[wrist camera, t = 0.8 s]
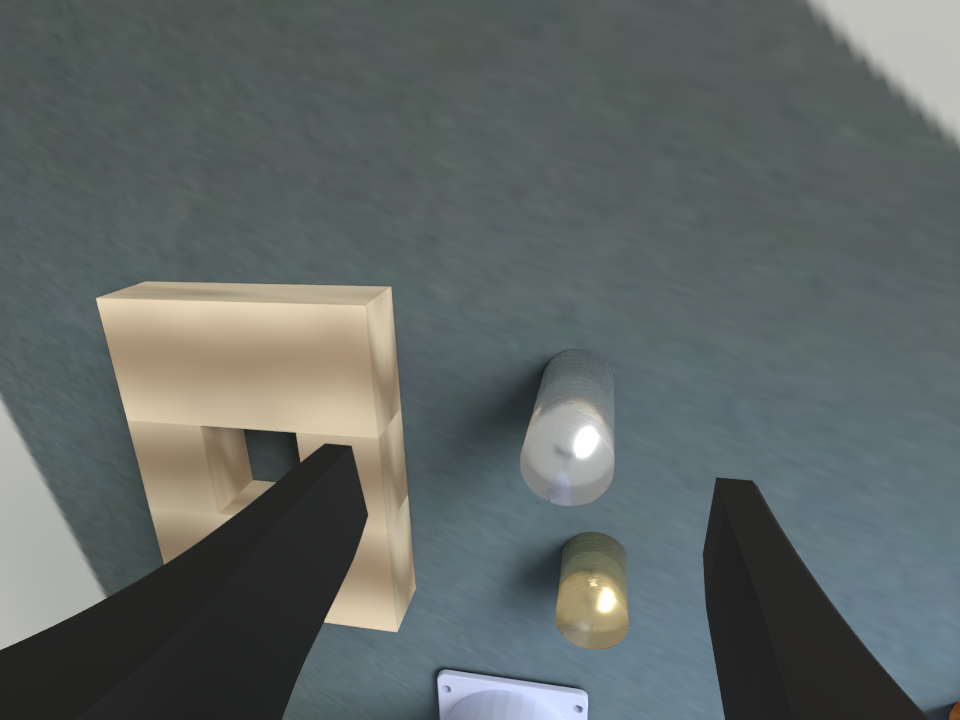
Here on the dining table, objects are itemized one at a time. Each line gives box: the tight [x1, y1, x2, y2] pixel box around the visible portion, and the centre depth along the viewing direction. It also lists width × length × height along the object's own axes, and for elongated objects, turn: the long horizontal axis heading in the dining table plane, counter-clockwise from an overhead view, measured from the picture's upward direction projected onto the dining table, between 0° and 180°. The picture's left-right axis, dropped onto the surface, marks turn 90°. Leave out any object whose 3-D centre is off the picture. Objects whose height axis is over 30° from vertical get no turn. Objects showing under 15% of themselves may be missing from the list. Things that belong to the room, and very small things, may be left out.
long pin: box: [520, 349, 614, 506], centre depth 23 cm, size 3×3×7 cm
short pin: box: [555, 532, 629, 650], centre depth 27 cm, size 3×3×4 cm
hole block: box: [96, 282, 416, 632], centre depth 29 cm, size 16×12×3 cm
